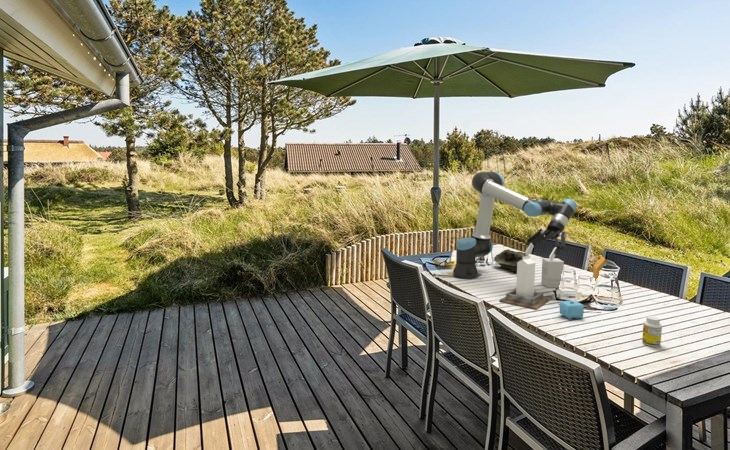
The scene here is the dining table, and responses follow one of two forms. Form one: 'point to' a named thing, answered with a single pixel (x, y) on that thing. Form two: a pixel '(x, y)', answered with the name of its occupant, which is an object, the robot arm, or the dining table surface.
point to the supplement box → (551, 272)
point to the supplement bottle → (652, 331)
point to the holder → (525, 300)
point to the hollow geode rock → (509, 259)
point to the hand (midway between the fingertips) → (538, 256)
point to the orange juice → (599, 267)
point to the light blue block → (571, 309)
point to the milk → (525, 277)
